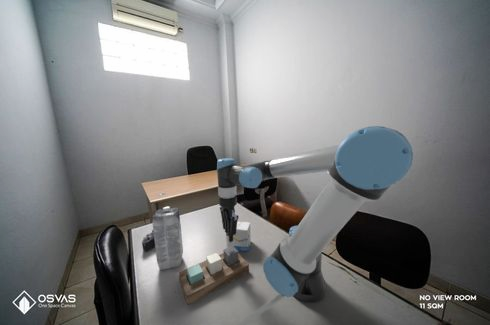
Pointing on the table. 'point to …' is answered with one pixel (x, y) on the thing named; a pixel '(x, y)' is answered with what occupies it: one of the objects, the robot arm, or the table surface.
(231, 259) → the block
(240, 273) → the keypad base
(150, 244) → the camera
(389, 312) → the table surface
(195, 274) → the key teal
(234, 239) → the ink box
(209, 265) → the key ivory
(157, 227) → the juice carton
